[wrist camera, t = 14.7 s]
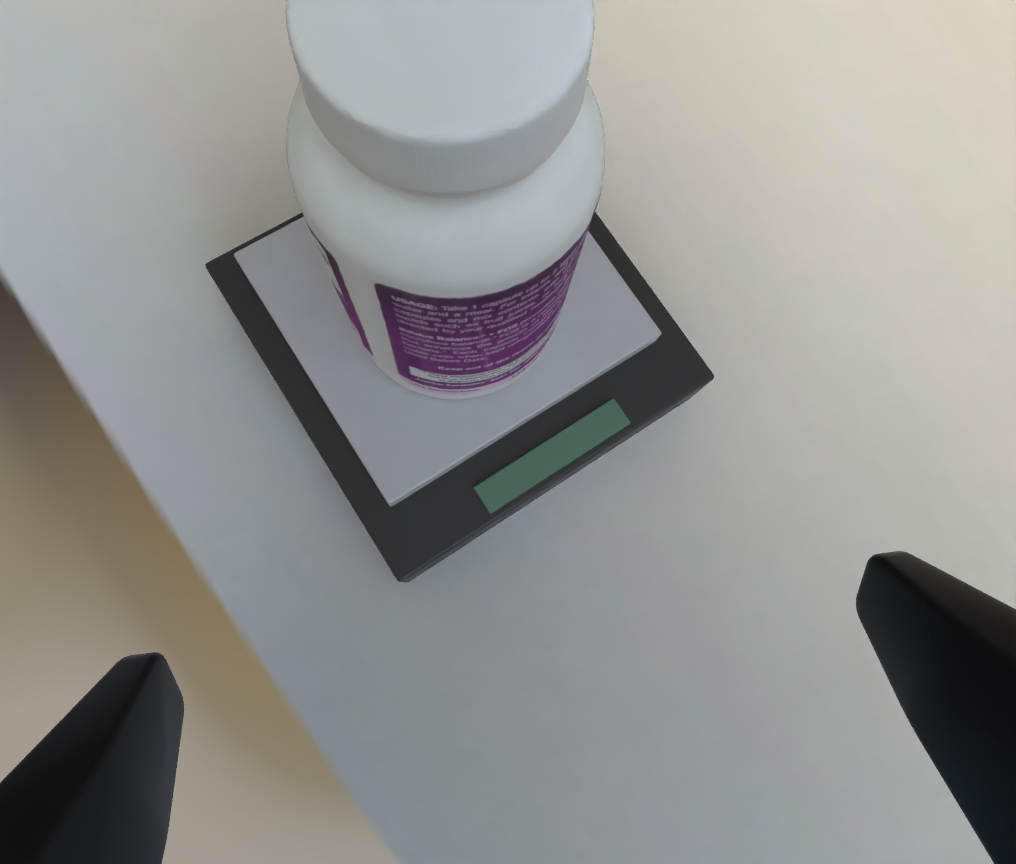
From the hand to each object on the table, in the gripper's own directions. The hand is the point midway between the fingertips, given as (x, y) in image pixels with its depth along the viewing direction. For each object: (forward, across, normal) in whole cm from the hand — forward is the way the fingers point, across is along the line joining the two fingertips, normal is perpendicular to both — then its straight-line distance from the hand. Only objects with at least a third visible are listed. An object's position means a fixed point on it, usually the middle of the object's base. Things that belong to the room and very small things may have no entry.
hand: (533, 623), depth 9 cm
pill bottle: (+11, 0, 0) cm, 11 cm away
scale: (+13, 0, +2) cm, 13 cm away
